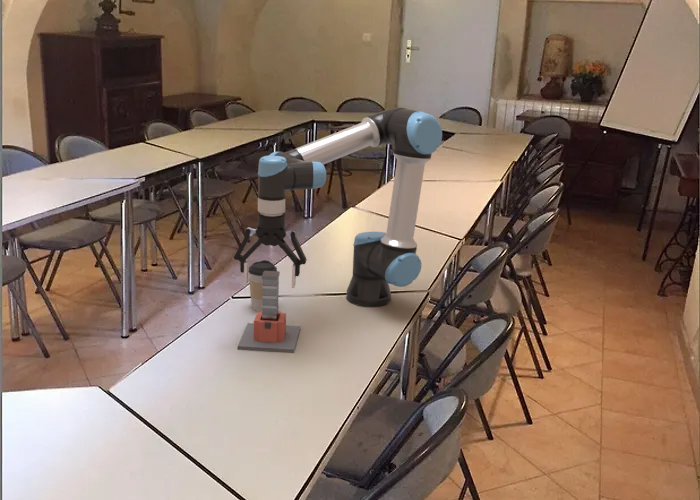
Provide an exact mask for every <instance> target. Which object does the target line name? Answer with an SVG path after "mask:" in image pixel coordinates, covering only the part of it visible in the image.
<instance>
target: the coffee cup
mask: <svg viewBox="0 0 700 500" xmlns="http://www.w3.org/2000/svg"><path fill="white" fill-rule="evenodd" d="M277 269H278V268H277V266H276V265H274V264H273V263H272V262H271V261H269V260H266V259H265V260H260V261H256V262H253V263H252V264H251V265H250V266H248V283H249V291H250V293H249V294H250V300H251V301H250V302H251V309H252V310H253V311H256V312H258V311H259V312H262V295H263V288H262V286H263V279H262V275H263V272H264V271H278V270H277Z"/></svg>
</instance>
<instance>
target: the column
mask: <svg viewBox="0 0 700 500" xmlns="http://www.w3.org/2000/svg"><path fill="white" fill-rule="evenodd" d="M280 273H281V272H280V271H278V270H277V271H264V272H263V275H262V279H263V286H262V288H263V295H262V311H261V312H262V320H269V321H278V312H279V292H280V291H279V288H280V287H279V282H280V275H281V274H280Z"/></svg>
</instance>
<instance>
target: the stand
mask: <svg viewBox="0 0 700 500" xmlns="http://www.w3.org/2000/svg"><path fill="white" fill-rule="evenodd" d="M256 312H257V313H256V315H255V317H254V319H253V322H252V323H251V322H247V324H246V327H245V329H244V330H243V333H242V335H241V337H240V340H239V342H238V344H237V350H241V351H242V350H245V351H258V352H259V351H260V352H261V351H262V352H277V353H291V354H294V353H295V349H296V347H297V343H298V339H299V336H300V332H301V325H289V324H287V313H286V312H282V311H278V321H269V320H262V311H256Z"/></svg>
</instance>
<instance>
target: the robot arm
mask: <svg viewBox="0 0 700 500" xmlns="http://www.w3.org/2000/svg"><path fill="white" fill-rule="evenodd" d="M442 129H443V128H442V126H441V124H440V122H439V121H438V118H436V117H435V116H434V115H432V114H431V113H427V112H425V111H420V110H415V109H414V110H413V109H407V108H404V107H393V108H388V109H385V110H381V111H379V112H377V113H374V114H371V115H369V116H368V115H367V116H366V117H363V119H362V120H361V122H359V123H357V124H355V125H352V126H349V127H346V128H344V129H342V130H339V131H338V132H334V133H332V134H330V135H326V136H324V137H322V138H321V137H320V138H319V139H317V140H313V141H311V142H309V143H306V144H304V145H302V146H299V147H296V148H294V149H293V148H292V149H291V150H287V151H285V152H283V151H273V152H271V153H270V154H269V155H264V156H262V157H260V158H259V160H258V169H257V170H258V171H257V177H258V179H257V181H258V183H257V184H258V188H257V191H258V192H257V212H258V213H257V226H256V227H257V228H252V227H251V226H248V227H247V228H246V230H245V235H244V238H243V239H242V242H241V243H240V245H239V246H238V249H237V251H236V253H234V256H233V259H234V260H236V261H239V265H240V268H239V269H240V273H243V285H244V286H245V285H248V283H249V272H248V271H249V260H248V259H249V257H250V256H251V255H252V254H253V253H254V252H255V251H256V250H257V248H259V247H260V245H264V246H266V247H267V246H272V247H276V246H279V248H280V249H282V251H283V252H284V253H285V254H286V256H287V257H288V258H289V259H290V260H291V262H293V264H292V267H291V269H292V271H291V289H295V286H296V277H299V276H300V271H301V270H300V269H301V265H305V264H306V263H307V261H308V260H307V257H306V255H305V253H304V251H303V249H302V246H301V244H300V242H299V240H298V237H297V231H296V229H292V230H287V231H286V227H285V226H286V214H285V212H286V198H287V197H286V195H287V191H289V192H290V191H301V190H314V189H318V188H319V189H320V188H322V187H323V186H324V185H325V184H326V181H327V170H326V167H325V164H326V165H327V164H328V163H330V162H333V161H336V160H338V159H341V158H343V157H346V156H348V155H350V154H354V153H356V152H358V151H361V150H363V149H365V148H367V147H372V148H376V147H379V146H382V145H393V150H392V151H393V152H392V155H393V156H394V157H395V159H396V163H395V164H396V165H395V166H396V167H395V172H394V177H393V178H394V179H393V185H392V193H391V199H390V200H391V201H390V206H389V207H390V208H389V214H388V220H387V228H386V232H384V231H363V232H359V233H357V234H356V235H355V236H354V240H353V244H352V245H353V255H352V256H353V258H352V259H353V260H352V276H351V279H350V281H349V284H348V286H347V290H346V295H345V296H346V300H347V301H348V302H350V303H351V304H353V305H356V306H359V307H360V306H361V307H366V308H367V307H370V308H372V307H373V308H374V307H375V308H376V307H381V306H385V305H387V304H389V303H390V302H391V300H392V291H391V288H390V285H392V286H395V287H399V288H401V287H406V286H409V285H410V284H412V283H413V282H414V281H416V280H417V278H418V277H419V275H420V273H421V270H422V260H421V258H420V256H419V255H418V254H417V250H418V248H417V247H418V243H417V242H416V241H415V239H414V236H415V230H416V224H417V217H418V210H419V205H420V199H421V198H420V197H421V191H422V184H423V178H424V172H425V165H426V164H427V162H429V161H430V160H431V158H432V154H434V153H435V152H436V151H437V149H438V148H440V145H441V143H442V140H443V130H442ZM254 235H256V236H257V238H258V239H257V240H256V241H255V242H254V243H253V244H252V245H251V246H250V248H249V249H248V250H247V251H245V253H244V254H243V255H242V252H243V250H244V249H245V247H246V246H247V243H248V241H249V240H250V238H251V237H253V236H254ZM286 236H287V238H288V239H289V240H290V241H291V244H292V246H293V248H294V250H295V252H296V254H297V255H296V254H295V252H294V251H293V250H292V249H291V247H290V246H289V245H288V244H287V241H286V240H285V237H286Z"/></svg>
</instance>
